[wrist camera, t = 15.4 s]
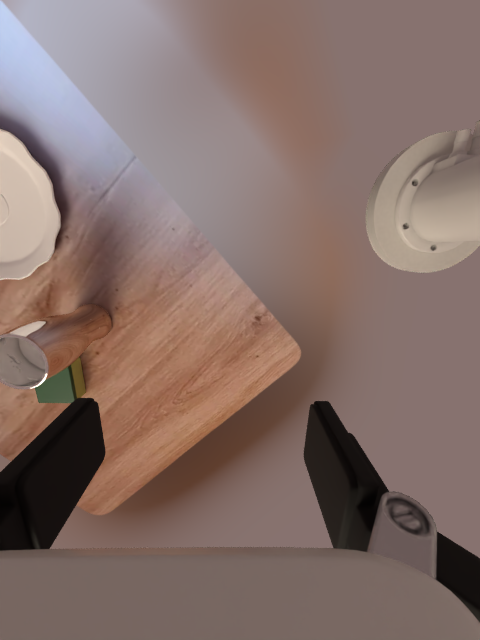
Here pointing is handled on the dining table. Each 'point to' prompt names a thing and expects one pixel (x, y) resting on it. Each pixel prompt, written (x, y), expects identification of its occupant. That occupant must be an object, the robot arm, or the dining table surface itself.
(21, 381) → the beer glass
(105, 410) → the dining table surface
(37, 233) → the plate
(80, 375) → the sponge
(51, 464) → the robot arm
